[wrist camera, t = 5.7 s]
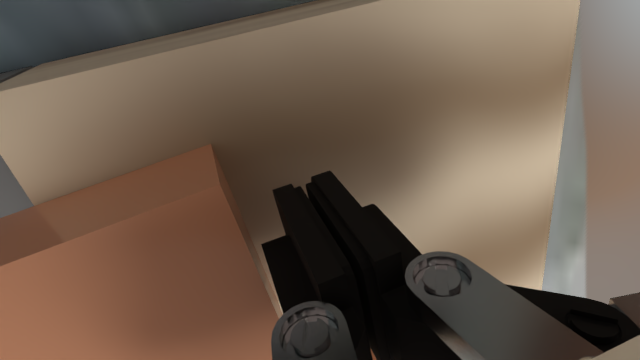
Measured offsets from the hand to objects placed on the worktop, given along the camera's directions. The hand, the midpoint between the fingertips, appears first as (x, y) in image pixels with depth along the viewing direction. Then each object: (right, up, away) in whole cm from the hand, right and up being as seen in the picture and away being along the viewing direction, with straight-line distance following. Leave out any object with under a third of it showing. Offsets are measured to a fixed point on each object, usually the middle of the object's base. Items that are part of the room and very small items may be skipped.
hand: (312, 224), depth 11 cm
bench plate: (+1, -1, +8) cm, 8 cm away
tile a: (-5, -1, 0) cm, 5 cm away
